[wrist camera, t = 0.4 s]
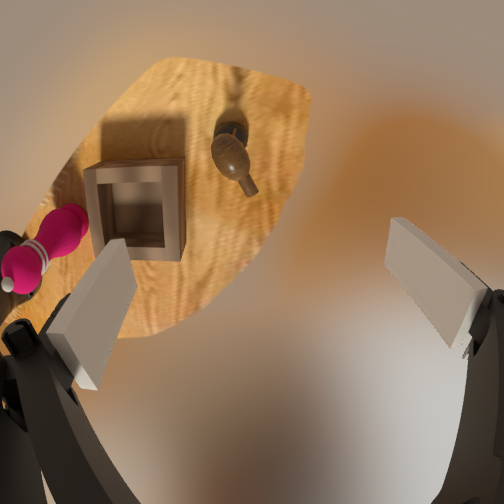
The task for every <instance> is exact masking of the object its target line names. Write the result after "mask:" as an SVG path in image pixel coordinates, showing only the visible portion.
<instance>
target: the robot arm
mask: <svg viewBox="0 0 504 504" xmlns="http://www.w3.org/2000/svg"><path fill="white" fill-rule="evenodd" d="M24 241H25V240H24V239H23V238H22V237H20V236H19V235H18V234H16V233H14V232H11V231H1V232H0V326H1V325H2V323H3V322H4V320H5V319H6V318H7V316H8V315H9V314H10V312H11V311H12V310H13V309H14V308H15V307H17V306H19V305H21V304H23V303H25V302H27V301H28V300H30V299H32V298H33V297H34V296H35V294H36V293H37V292H38V290H39V289H40V287H41V282H42V275H41V280H40V283H39V284H38V286H37V287H36V288H35V289H34V290H33V291H32V292H30V293H27V294H18V293H16V292H14V291H11V292H5V291H4V290H3V289H2V286H1V282H2V280H3V276H2V273H1V264H2V260H3V257H4V256H5V254H6V253H7V252H8V251H9V250H10V249H11V248H13V247H15V246H20V245H21V244H22V243H24ZM384 266H385V267H386V268H387V269H388V270H389V271H390V273H391V274H392V275H393V276H394V277H395V279H396V280H397V281H398V282H399V283H400V284H401V286H402V287H403V288H404V289H405V290H406V292H407V293H408V294H409V295H410V296H411V298H412V299H413V300H414V302H415V303H416V304H417V305H418V307H419V308H420V309H421V311H423V313H424V314H425V315H426V317H427V318H428V320H429V321H430V322H431V323H432V325H433V326H434V327H435V329H436V330H437V332H439V334H440V335H441V337H442V338H443V340H444V341H445V342H446V344H447V345H448V346H449V348H453V347H456V346H459V345H461V344H463V342H464V340H465V338H466V336H467V334H468V332H469V333H470V335H471V336H472V339H471V341H470V343H469V345H468V347H467V349H466V351H465V352H464V355H463V357H462V358H463V359H464V358H465V356H466V355H467V354H468V353H469V356H468V370H467V379H466V387H465V395H464V402H463V408H462V413H461V419H460V424H459V429H458V433H457V438H456V442H455V446H454V450H453V454H452V458H451V461H450V465H449V468H448V471H447V474H446V477H445V480H444V484H443V486H442V489H441V491H440V492H439V494H438V495H437V497H436V498H435V499H434V500H433V501H432V503H431V504H504V290H500V289H498V290H495V291H492V290H491V289H490V288H489V287H488V286H487V285H486V284H485V283H484V282H483V281H482V280H480V278H479V277H477V276H475V274H474V273H473V272H472V271H471V270H470V271H469V268H467V267H466V266H465V265H464V264H463V263H461V262H459V261H458V260H457V259H455V258H454V257H453V256H452V255H451V254H450V253H449V252H447V251H446V250H445V249H443V248H442V247H441V246H440V245H439V244H438V243H436V242H435V241H434V240H433V239H431V238H430V237H429V236H428V235H426V234H425V233H424V232H422V231H421V230H420V229H418V228H417V227H416V226H415V225H413V224H412V223H411V222H409V221H408V220H407V219H405V218H404V217H395V218H391V225H390V231H389V238H388V244H387V250H386V256H385V261H384ZM137 287H138V286H137V283H136V280H135V276H134V273H133V269H132V266H131V262H130V258H129V254H128V251H127V247H126V243H125V239H124V238H122V239H113V240H110V241H109V242H108V244H107V245H106V246H105V247H104V249H103V250H102V251H101V253H100V254H99V255H98V257H97V258H96V259H95V261H94V262H93V263H92V265H91V266H90V267H89V269H88V270H87V271H86V273H85V274H84V276H83V277H82V278H81V280H80V281H79V283H78V284H77V285H76V287H75V288H74V290H73V291H72V293H69V294H67V295H66V296H65V297H64V298H63V299H61V300H60V302H59V303H58V304H57V306H56V307H55V310H53V312H52V313H51V315H50V317H49V318H48V320H47V321H46V323H45V324H44V326H43V327H42V329H41V331H40V332H39V334H38V335H37V333H36V331H35V329H34V328H33V326H32V324H31V322H30V320H28V319H26V318H24V319H18V320H16V321H14V322H12V323H11V324H9V325H8V326H7V327H6V328H5V330H4V331H3V333H2V337H1V339H2V341H3V342H4V344H5V346H6V347H7V348H8V350H9V352H10V353H11V355H7V356H3V355H2V354H1V352H0V504H47V500H46V495H45V490H44V486H43V480H42V475H41V471H42V473H43V475H44V478H45V480H46V483H47V485H48V487H49V490H50V492H51V494H52V496H53V498H54V501H55V503H56V504H141V503H140V502H139V501H138V499H137V498H136V497H135V496H134V494H133V493H132V491H131V490H130V489H129V487H128V486H127V484H126V483H125V482H124V480H123V478H122V477H121V475H120V474H119V472H118V471H117V469H116V468H115V466H114V465H113V463H112V461H111V460H110V458H109V457H108V455H107V453H106V452H105V450H104V448H103V447H102V445H101V443H100V441H99V439H98V437H97V436H96V434H95V432H94V430H93V428H92V427H91V425H90V423H89V420H88V418H87V416H86V415H85V412H84V411H83V408H82V406H81V404H80V402H79V400H78V398H77V395H76V393H75V391H74V390H73V388H72V387H71V384H72V382H73V379H75V380H76V382H77V383H78V385H79V386H80V387H81V388H83V389H91V390H98V389H99V386H100V383H101V380H102V377H103V374H104V371H105V368H106V365H107V363H108V360H109V357H110V354H111V352H112V349H113V346H114V344H115V341H116V338H117V336H118V333H119V331H120V328H121V325H122V323H123V320H124V318H125V315H126V313H127V311H128V308H129V306H130V303H131V301H132V299H133V296H134V294H135V292H136V289H137ZM2 400H3V401H4V403H5V409H4V408H3V405H2Z"/></svg>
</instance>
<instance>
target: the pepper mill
mask: <svg viewBox="0 0 504 504" xmlns="http://www.w3.org/2000/svg"><path fill="white" fill-rule="evenodd" d="M88 226H89V223H88V217H87V215H86V213H85V212H84V210H83V209H82V208H81V207H80V206H78V205H76V204H66V205H64V206H63V207H61V208H60V209H55V210H52V211H51V212H50V213H49V214H47V215H46V216H45V218H44V219H43V221H42V223H41V225H40V228H39V231H38V233H37V236H36V237H35V238H34V239H28V240H26V241H24V243H22V244H21V245H20V246H15V247H13V248H11V249H10V250H9V251H8V252H7V253H6V254H5V256H4V257H3V260H2V264H1V273H2V276H3V280H2V282H1V286H2V289H3V290H4V291H5V292H11V291H14V292H16V293H18V294H27V293H30V292H32V291H33V290H34V289H35V288H36V287H37V286H38V284H39V283H40V280H41V275H43V273H44V272H45V271H46V270H47V268H48V266H49V261H50V260H51V259H53V258H55V257H61V256H65V255H67V254H70V253H71V252H73V251H74V250H75V249H76V248H77V247H78V245H79V243H80V241H81V238H82V237H83V236H84V235H85V234H86V233H87V230H88Z"/></svg>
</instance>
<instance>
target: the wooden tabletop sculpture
mask: <svg viewBox="0 0 504 504" xmlns="http://www.w3.org/2000/svg"><path fill="white" fill-rule="evenodd" d="M247 142H248V134H247V132H246V130H245V128H244V126H243V125H241V124H238V123H236V122H234V121H231V122H225V123H222V124H221V125H220V126H219V127H218V128H217V129H216V130H215V131H214V137H213V142H212V145H211V152H212V158H213V160H214V162H215V164H216V167H217V168H218V169H219V170H220V172H221V173H222V174H223V175H224V176H225V177H227V178H228V179H230V180H235V181H238V182H239V184H240V186H241V188H242V189H243V191H244V193H245V195H246V196H247V197H252V196H254V195H255V194H257V193H258V189H257V187H256V185H255V183H254V182H253V180H252V178H251V176H250V174H249V170H250V160H249V156H248V153H247V151H246V149H245V147H246V146H247Z"/></svg>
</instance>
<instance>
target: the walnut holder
mask: <svg viewBox="0 0 504 504" xmlns="http://www.w3.org/2000/svg"><path fill="white" fill-rule="evenodd" d="M83 176H84V186H85V196H86V204H87V212H88V219H89V225H90V232H91V237H92V243H93V249H94V254H95V259H96V258H97V257H98V255H99V254H100V253H101V251H102V250H103V249H104V247H105V246H106V245H107V244H108V242H109V241H110V240H113V239H122V238H124V239H125V243H126V247H127V251H128V254H129V258H130V260H150V261H181V258H182V254H183V251H184V248H185V245H186V222H185V158H158V159H132V160H114V161H101V162H99V163H97V164H95V165H92V166H90V167H88V168H86V169H84V170H83Z"/></svg>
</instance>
